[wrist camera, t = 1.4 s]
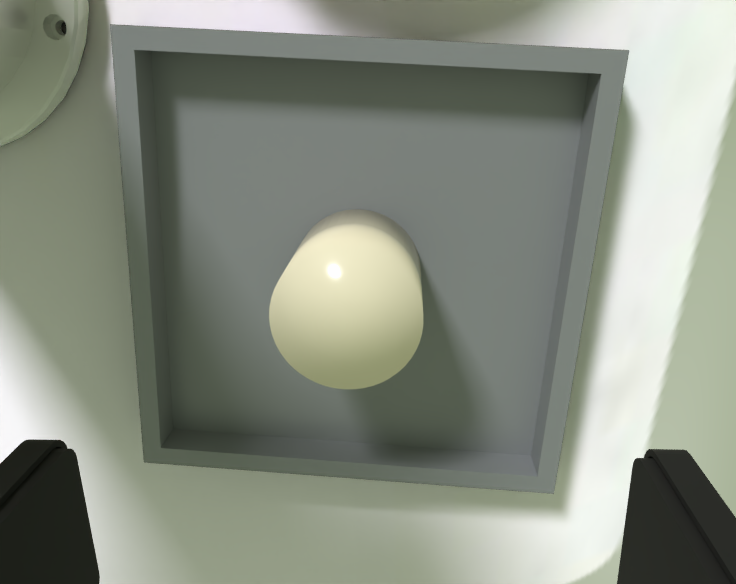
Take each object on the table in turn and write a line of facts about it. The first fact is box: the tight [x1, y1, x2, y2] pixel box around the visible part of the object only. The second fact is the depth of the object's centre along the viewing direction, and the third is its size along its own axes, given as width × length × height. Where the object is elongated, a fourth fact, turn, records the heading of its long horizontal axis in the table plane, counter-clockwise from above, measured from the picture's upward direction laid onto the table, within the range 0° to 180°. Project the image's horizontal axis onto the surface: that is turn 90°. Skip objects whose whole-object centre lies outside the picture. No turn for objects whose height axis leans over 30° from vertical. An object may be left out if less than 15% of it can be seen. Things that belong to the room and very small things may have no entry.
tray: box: [110, 24, 629, 494], centre depth 27 cm, size 18×18×2 cm
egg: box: [269, 209, 423, 389], centre depth 25 cm, size 5×5×6 cm
